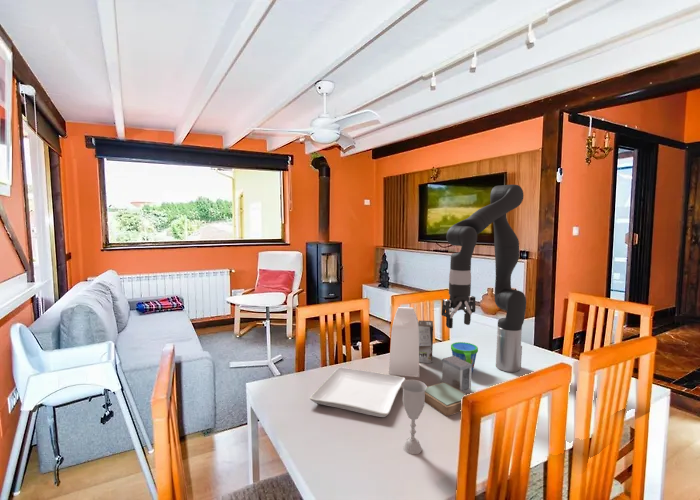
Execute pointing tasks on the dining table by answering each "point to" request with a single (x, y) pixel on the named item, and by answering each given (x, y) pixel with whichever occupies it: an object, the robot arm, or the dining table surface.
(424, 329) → the coffee box
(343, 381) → the square plate
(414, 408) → the chalice
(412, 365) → the milk
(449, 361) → the housing
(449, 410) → the wooden tray
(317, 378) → the dining table surface
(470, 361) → the snack cup
